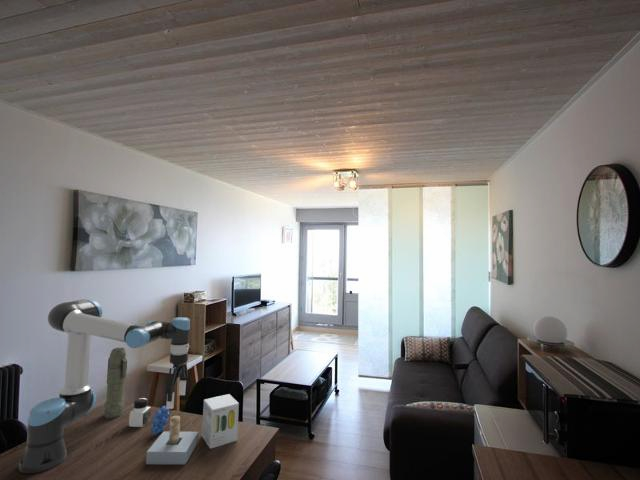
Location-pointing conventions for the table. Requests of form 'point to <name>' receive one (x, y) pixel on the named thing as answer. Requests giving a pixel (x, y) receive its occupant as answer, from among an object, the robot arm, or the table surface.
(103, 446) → the table surface
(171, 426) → the peg
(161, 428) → the grapes
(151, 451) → the socket block
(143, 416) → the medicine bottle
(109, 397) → the thermos
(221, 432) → the supplement box
